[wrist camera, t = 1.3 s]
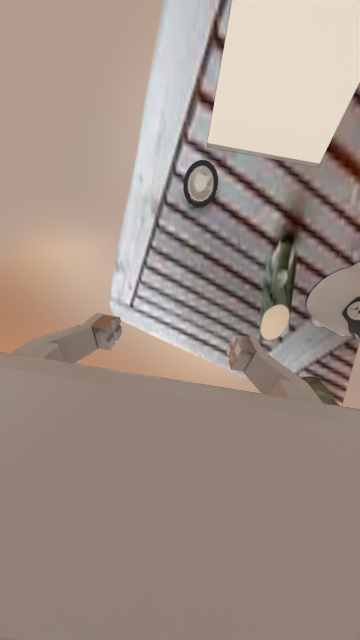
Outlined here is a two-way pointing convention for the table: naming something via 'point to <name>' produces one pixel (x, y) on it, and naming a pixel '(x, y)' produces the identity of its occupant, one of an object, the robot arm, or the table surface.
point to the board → (286, 77)
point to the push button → (200, 184)
